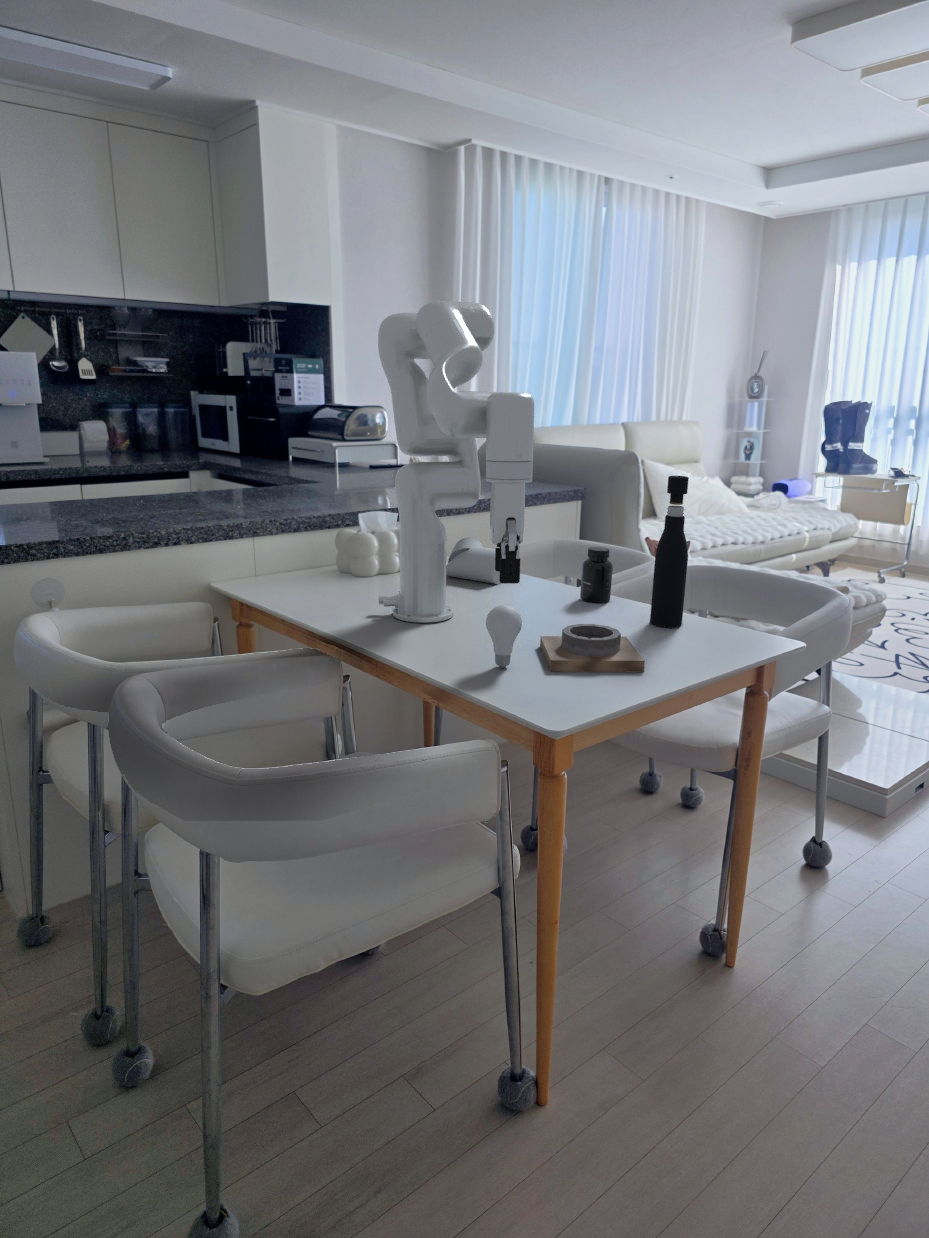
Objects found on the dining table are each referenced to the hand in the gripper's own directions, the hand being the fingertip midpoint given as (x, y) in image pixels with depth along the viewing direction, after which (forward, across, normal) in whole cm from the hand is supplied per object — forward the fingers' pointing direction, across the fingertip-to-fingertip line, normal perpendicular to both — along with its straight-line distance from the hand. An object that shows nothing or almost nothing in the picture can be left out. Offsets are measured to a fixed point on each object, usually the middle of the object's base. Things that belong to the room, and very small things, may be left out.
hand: (506, 576), depth 136 cm
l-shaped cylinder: (+15, -72, -2) cm, 74 cm away
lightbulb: (+16, -1, 0) cm, 16 cm away
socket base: (+16, -6, +16) cm, 23 cm away
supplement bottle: (+15, -48, +25) cm, 56 cm away
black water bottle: (+16, -29, +36) cm, 49 cm away
